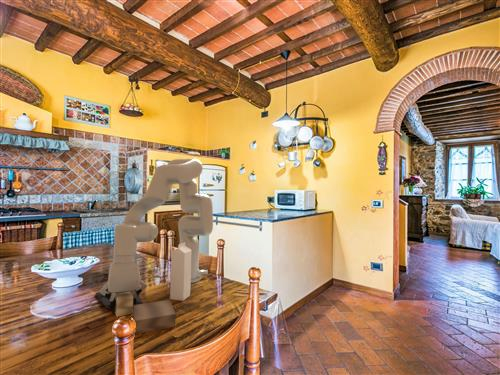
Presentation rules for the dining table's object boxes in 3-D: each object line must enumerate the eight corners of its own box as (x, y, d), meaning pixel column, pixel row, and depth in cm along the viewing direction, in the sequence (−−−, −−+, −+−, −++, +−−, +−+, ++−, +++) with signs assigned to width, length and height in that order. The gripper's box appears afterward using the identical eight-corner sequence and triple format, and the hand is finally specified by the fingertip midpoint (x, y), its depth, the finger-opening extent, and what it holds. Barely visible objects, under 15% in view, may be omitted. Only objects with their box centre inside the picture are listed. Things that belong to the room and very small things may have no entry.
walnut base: (169, 310, 93) (169, 299, 93) (175, 326, 82) (175, 313, 83) (133, 317, 88) (133, 305, 88) (134, 334, 77) (134, 320, 77)
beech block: (129, 308, 95) (130, 291, 95) (132, 313, 91) (133, 296, 91) (114, 311, 92) (115, 294, 92) (116, 316, 88) (117, 299, 88)
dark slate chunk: (98, 315, 90) (99, 301, 90) (95, 294, 108) (95, 282, 108) (145, 305, 98) (145, 293, 98) (134, 287, 117) (134, 277, 117)
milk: (169, 299, 104) (171, 244, 104) (177, 293, 109) (178, 241, 110) (183, 301, 102) (184, 245, 103) (190, 295, 108) (191, 242, 109)
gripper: (149, 254, 100) (148, 301, 99) (98, 258, 92) (96, 309, 92) (151, 259, 93) (149, 309, 92) (96, 263, 85) (94, 318, 85)
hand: (123, 309), depth 92 cm, fingers closed on beech block, 5 cm apart
